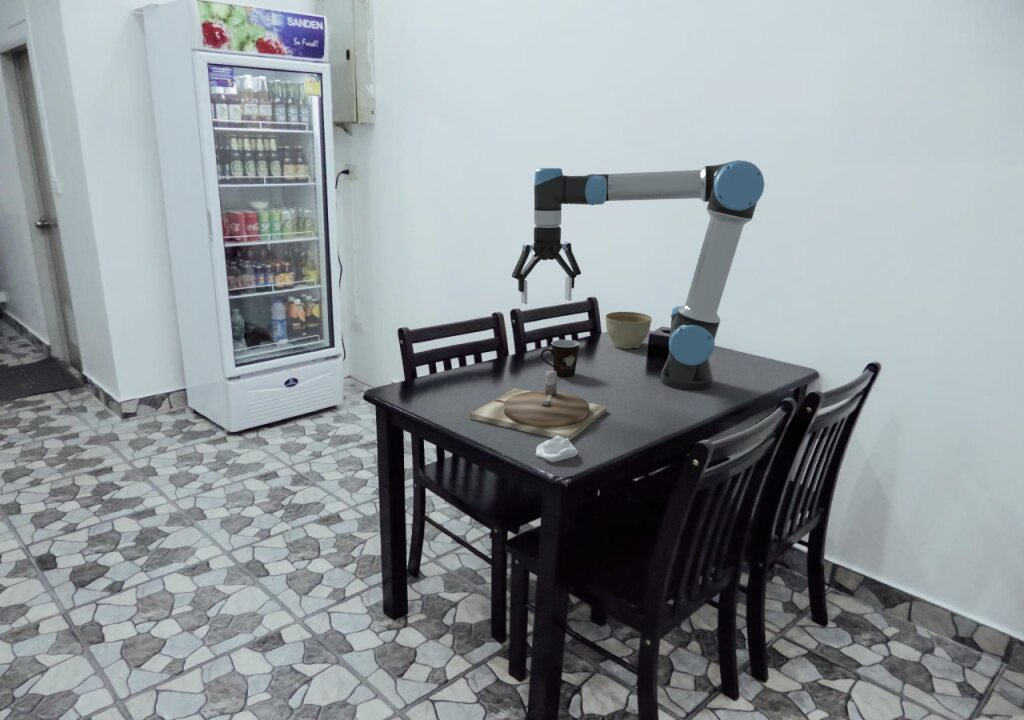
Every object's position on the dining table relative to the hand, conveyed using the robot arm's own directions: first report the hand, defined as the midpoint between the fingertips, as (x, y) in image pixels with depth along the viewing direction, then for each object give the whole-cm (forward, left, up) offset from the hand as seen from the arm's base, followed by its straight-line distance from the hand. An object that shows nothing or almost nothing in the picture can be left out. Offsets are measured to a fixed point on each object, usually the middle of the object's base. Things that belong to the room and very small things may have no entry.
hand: (546, 301), depth 193 cm
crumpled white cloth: (-25, +42, -26) cm, 55 cm away
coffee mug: (+1, -11, -25) cm, 28 cm away
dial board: (-10, +23, -25) cm, 35 cm away
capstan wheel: (-12, +23, -24) cm, 35 cm away
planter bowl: (-5, -53, -25) cm, 59 cm away
